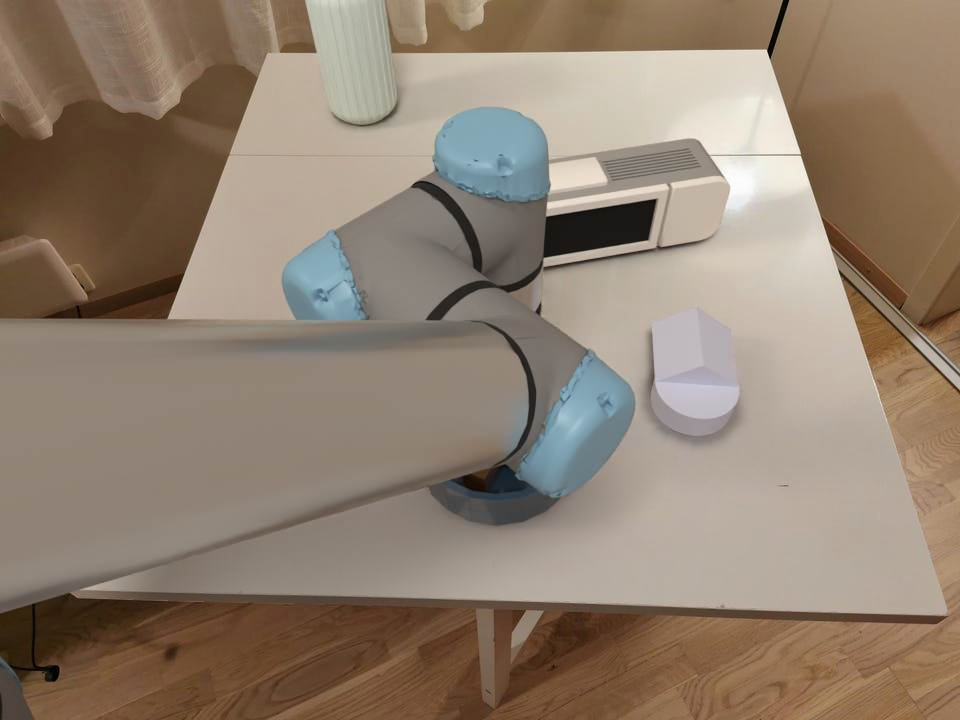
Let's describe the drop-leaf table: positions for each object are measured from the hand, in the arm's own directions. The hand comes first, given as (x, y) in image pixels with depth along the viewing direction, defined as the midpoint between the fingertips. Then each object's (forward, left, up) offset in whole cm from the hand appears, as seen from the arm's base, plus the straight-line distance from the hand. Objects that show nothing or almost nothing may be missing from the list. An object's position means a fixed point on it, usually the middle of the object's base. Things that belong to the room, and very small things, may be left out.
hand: (497, 450), depth 75 cm
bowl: (0, 0, -1) cm, 1 cm away
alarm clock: (+35, +14, -2) cm, 38 cm away
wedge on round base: (+22, -9, -2) cm, 24 cm away
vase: (+31, +63, -2) cm, 70 cm away
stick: (0, 0, 0) cm, 0 cm away
